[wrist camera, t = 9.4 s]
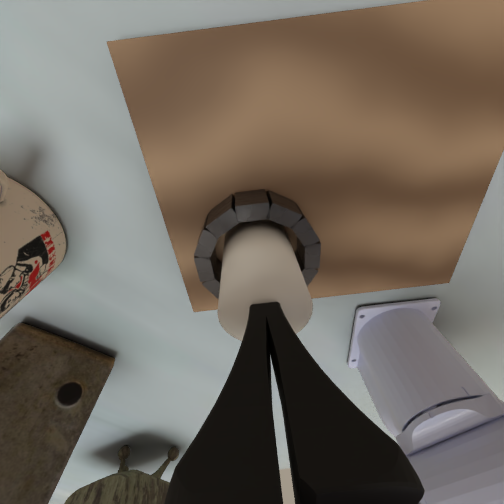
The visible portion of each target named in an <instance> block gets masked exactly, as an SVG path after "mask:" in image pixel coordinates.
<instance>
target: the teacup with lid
mask: <svg viewBox="0 0 504 504" xmlns="http://www.w3.org/2000/svg"><path fill="white" fill-rule="evenodd" d="M65 251H66V239H65V234H64V231H63V229H62V226H61V224H60V222H59V220H58V219H57V217H56V216H55V214H54V213H53V212H52V210H51V209H50V208H49V207H48V206H47V205H46V203H44V202H43V201H42V200H41V199H40V198H39V197H38V196H37V195H36V194H34V193H33V192H32V191H30V190H29V189H27V188H26V187H24V186H23V185H21V184H19V183H18V182H16V181H14V180H12V179H10V178H8V177H7V176H6V175H5V173H4V172H3V171H2V170H0V319H1V318H2V317H3V316H4V315H5V314H6V313H7V312H8V311H10V310H11V309H12V308H13V307H14V306H15V305H16V304H17V303H18V302H19V301H21V300H22V299H23V298H24V297H25V296H26V295H27V294H28V293H29V292H30V291H32V290H33V289H34V288H35V287H36V286H37V285H38V284H39V283H40V282H41V281H43V280H44V279H45V278H46V277H47V276H48V275H49V274H50V273H51V272H52V271H54V270H55V269H56V268H57V267H58V266H59V264H60V263H61V262H62V260H63V258H64V255H65Z"/></svg>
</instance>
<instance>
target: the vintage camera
mask: <svg viewBox="0 0 504 504" xmlns="http://www.w3.org/2000/svg"><path fill="white" fill-rule="evenodd" d="M114 362H115V358H113V357H110V356H108V355H105V354H103V353H100V352H98V351H95V350H93V349H90V348H88V347H85V346H83V345H80V344H78V343H75V342H73V341H70V340H68V339H65V338H63V337H60V336H57V335H55V334H52V333H50V332H47V331H44V330H41V329H39V328H36V327H33V326H30V325H27V324H24V323H21V322H20V323H18V324H17V325H15V326H14V327H13V328H12V329H11V330H10V331H9V332H8V333H7V334H6V335H5V336H4V337H3V338H2V339H1V340H0V504H48V503H49V500H50V498H51V496H52V494H53V492H54V490H55V488H56V486H57V484H58V482H59V480H60V477H61V475H62V473H63V471H64V469H65V467H66V465H67V463H68V460H69V458H70V456H71V454H72V452H73V450H74V448H75V446H76V444H77V441H78V439H79V437H80V435H81V433H82V431H83V429H84V427H85V425H86V423H87V420H88V418H89V416H90V414H91V412H92V410H93V408H94V406H95V404H96V402H97V400H98V397H99V395H100V393H101V391H102V389H103V387H104V385H105V383H106V381H107V379H108V376H109V374H110V372H111V370H112V368H113V366H114Z"/></svg>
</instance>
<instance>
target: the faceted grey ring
mask: <svg viewBox="0 0 504 504" xmlns="http://www.w3.org/2000/svg"><path fill="white" fill-rule="evenodd" d="M265 219H268V220H271V221H273V222H276V223H278V224H281V225H284V226H286V227H289V228H291V229H292V230H293V231H294V233H295V234H296V235H297V249H296V251H295V253H294V254H295V256H296V259H297V262H298V264H299V267H300V270H301V272H302V275H303V278H304V280H305V283H306V285H307V287H308V285H309V284H310V283H311V281H312V280H313V278H314V277H315V275H316V274H317V273H318V268H320V253H321V242H320V239H319V237H318V236H317V234H316V233H315V231H314V229H313V228H312V226H311V224H310V223H309V221H308V220H307V218H306V217H305V215H304V214H303V212H302V211H301V209H300V208H299V206H298V204H297V203H295V202H294V200H291V199H289V198H287V197H284V196H282V195H280V194H278V193H275V192H273V191H271V190H268V191H267V193H266V192H265V189H260V190H252V191H244V192H235V197H234V196H233V194H231V195H230V196H228V197H227V198H226V199H224V200H223V201H222V202H220V203H219V204H218V205H216V206H215V207H214V208H212V209H211V210H210V212H209V213H208V214H207V217H206V219H205V222H204V225H203V227H202V230H201V233H200V235H199V239H198V242H197V246H196V249H195V253H194V261H195V265H196V268H197V272H198V276H199V279H200V282H202V285H203V286H204V287H205V288H206V289H207V290H209V291H210V292H211V293H212V294H213V295H214V296H215V297H216V298H217V299H219V292H220V281H221V271H222V262H221V261H220V260H219V259H218V258H217V254H216V249H215V245H216V243H217V240H218V238H219V237H220V236H221V235H223V234H224V233H226V232H227V231H229V230H230V229H231V228H233V227H234V226H236V225H237V224H238V223H240V222H248V221H256V220H265Z"/></svg>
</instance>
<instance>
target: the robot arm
mask: <svg viewBox="0 0 504 504" xmlns="http://www.w3.org/2000/svg"><path fill="white" fill-rule="evenodd" d="M440 304H441V302H440V301H439V300H438V299H437V298H433V299H424V300H415V301H407V302H398V303H389V304H380V305H372V306H363V307H359V308H358V309H357V310H356V315H355V321H354V327H353V333H352V339H351V345H350V351H349V357H348V363H347V364H348V367H349V368H358V370H359V372H360V374H361V376H362V379H363V381H364V383H365V385H366V387H367V390H368V392H369V394H370V396H371V398H372V401H373V403H374V405H375V407H376V409H377V412H378V414H379V416H380V418H381V420H382V422H383V424H384V425H385V426H386V428H387V429H388V430H389V431H390V432H391V433H392V434H393V435H394V436H395V438H396V440H397V442H398V444H399V445H398V444H397V443H396V442H395V441H394V440H393V439H391V438H390V437H389V436H388V435H387V434H386V433H385V432H383V431H382V430H381V429H380V428H379V427H378V426H377V425H376V424H374V423H373V422H372V421H371V420H370V419H369V418H368V417H367V416H366V415H365V414H364V413H363V412H362V411H361V410H359V409H358V408H357V407H356V406H355V405H354V404H353V403H352V402H351V401H350V400H349V399H348V397H347V396H346V395H345V394H344V393H343V392H342V391H341V390H340V389H339V388H338V387H337V386H336V385H335V384H334V383H333V382H332V381H331V379H330V378H329V377H328V376H327V375H326V374H325V373H324V371H323V370H322V369H321V368H320V367H319V365H318V364H317V363H316V362H315V360H314V359H313V358H312V356H311V355H310V354H309V352H308V351H307V350H306V348H305V347H304V346H303V344H302V343H301V341H300V340H299V338H298V337H297V335H296V333H295V332H294V330H293V329H292V327H291V325H290V324H289V322H288V320H287V318H286V316H285V314H284V312H283V310H282V308H281V305H280V303H279V302H269V303H260V304H252V305H251V306H250V307H249V316H248V321H247V326H246V330H245V333H244V336H243V340H242V343H241V346H240V349H239V352H238V354H237V357H236V360H235V362H234V365H233V367H232V370H231V372H230V374H229V377H228V379H227V381H226V383H225V385H224V387H223V389H222V391H221V393H220V395H219V397H218V399H217V401H216V403H215V405H214V407H213V408H212V410H211V412H210V414H209V415H208V417H207V419H206V420H205V422H204V424H203V426H202V427H201V429H200V431H199V432H198V434H197V436H196V437H195V439H194V440H193V442H192V443H191V445H190V446H189V448H188V449H187V451H186V452H185V454H184V455H183V457H182V458H181V460H180V461H179V463H178V464H177V466H176V468H175V470H174V473H173V476H172V479H171V481H170V484H169V488H168V491H167V494H166V498H165V502H164V504H283V499H282V491H281V482H280V473H279V464H278V455H277V447H276V438H275V429H274V420H273V410H272V390H271V362H270V355H271V359H272V364H273V368H274V373H275V377H276V382H277V386H278V391H279V396H280V400H281V405H282V411H283V417H284V425H285V432H286V439H287V446H288V453H289V461H290V468H291V475H292V483H293V490H294V497H295V504H504V402H503V401H501V400H500V399H499V398H498V397H497V396H496V395H495V394H494V392H493V391H492V390H491V389H490V388H489V387H488V386H487V384H486V383H485V382H484V381H483V380H482V379H481V378H480V377H479V375H478V374H477V373H476V372H475V371H474V370H473V369H472V368H471V366H470V365H469V364H468V363H467V362H466V361H465V360H464V358H463V357H462V356H461V355H460V354H459V353H458V352H457V351H456V349H455V348H454V347H453V346H452V345H451V344H450V343H449V342H448V340H447V339H446V338H445V337H444V336H443V335H442V334H441V333H440V331H439V330H438V329H437V328H436V327H435V326H434V325H433V321H434V318H435V316H436V314H437V311H438V309H439V306H440Z"/></svg>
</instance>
